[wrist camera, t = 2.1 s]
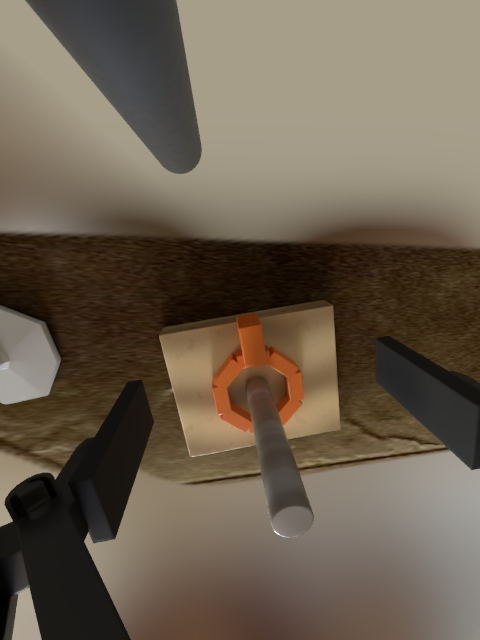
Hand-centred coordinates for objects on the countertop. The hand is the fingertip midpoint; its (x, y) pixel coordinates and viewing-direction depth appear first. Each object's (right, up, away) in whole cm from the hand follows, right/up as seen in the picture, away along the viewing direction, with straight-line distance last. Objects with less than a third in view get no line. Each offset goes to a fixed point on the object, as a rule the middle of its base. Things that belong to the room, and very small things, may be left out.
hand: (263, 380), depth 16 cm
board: (0, -2, +10) cm, 11 cm away
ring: (0, -1, +8) cm, 8 cm away
